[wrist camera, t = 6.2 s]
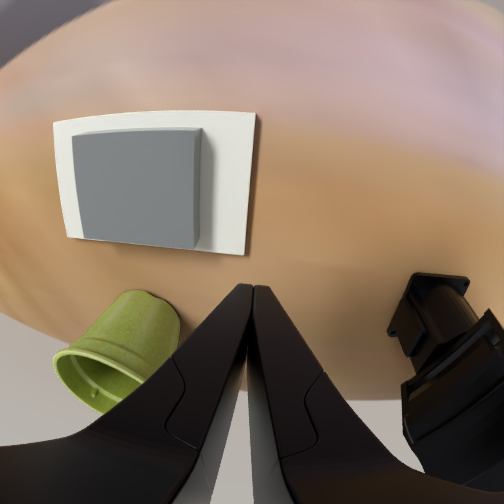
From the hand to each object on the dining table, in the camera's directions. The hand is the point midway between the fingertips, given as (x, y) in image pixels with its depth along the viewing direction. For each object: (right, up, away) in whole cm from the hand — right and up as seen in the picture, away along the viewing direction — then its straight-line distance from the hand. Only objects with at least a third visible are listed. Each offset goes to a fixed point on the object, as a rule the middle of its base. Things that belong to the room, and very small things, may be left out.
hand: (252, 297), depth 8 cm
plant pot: (-9, -4, +15) cm, 18 cm away
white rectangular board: (-7, +6, +9) cm, 13 cm away
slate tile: (-3, +5, +8) cm, 10 cm away
